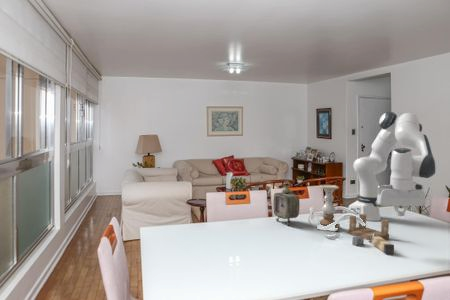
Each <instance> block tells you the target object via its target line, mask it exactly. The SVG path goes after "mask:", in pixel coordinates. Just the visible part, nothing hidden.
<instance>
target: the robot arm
mask: <svg viewBox="0 0 450 300" xmlns="http://www.w3.org/2000/svg"><path fill="white" fill-rule="evenodd" d="M378 126H379V127H380V128H381V130H380V131H379V132H378V133H377V135H376V138H375V139H374V141H373V142H372V144H371V153H370V155H368V156H363V157H362V156H361V157H359V158H357V159H355V160H354V162H353V164H352V165H353V170H354V172H355V173H356V174H357V176H358V180H359V194H358V195H356V196H355V198H356V201H354V202H352V203H350V204H349V205H348V207H347V210H348V209H351V210H353V211H354V212H355V213H356V214H357V215H358V216H359V215H360V214H365V215H366V222H367V221H369V222H377V221H382V217H381V214H380V207H393V209H394V210H395V215H396V216H398V217H405V216H406V214H405V212H407V210H408V207H424V206H425V204H426V194H425V191H424V190H425V185H423V184H422V183H421V184H420V183H419V182H418V183H417V182H415V181H414V177H418V178H424V179H429V178H431V177H433V176H434V175H435V174H436V172H437V163H436V161H435V158H434V155H433V152H432V147H431V146H430V141H429V139H428V137H427V135H426V134H424V133H423V125H422V124H421V123H420V122H419V118H418V116H417V114H415V113H413V112H404V113H403V114H398V113H395V112H393V111H386V112H384V113H383V114H382V115H381V116H380V117H379V121H378ZM397 142H398V143H399V144H400V145H402V146H405V147H410V148H414V149H417V150H419V151H420V154H421V155H413V151H412V149H410V148H405V147H403V148H402V147H400V148H399V147H398V148H394V147H395V146H396V144H397ZM393 148H394V149H393ZM390 153H392V154H391V158H389V155H390ZM388 158H389V160H388ZM387 160H388V163H387ZM387 167H388V171H390V173H391V175H390V177H389V178H390V180H389V181H390V182H389V184H381V185H380V184H379V182H378V180H377V177H376V174H380V173H382V172H384V171H385V170H386V169H387ZM400 207H401V208H402V209H401V210H399V209H400Z"/></svg>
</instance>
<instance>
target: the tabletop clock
mask: <svg viewBox="0 0 450 300" xmlns="http://www.w3.org/2000/svg"><path fill="white" fill-rule="evenodd" d="M285 183H288V184H289V186H288V185H285ZM282 186H283V187H284V188H283V189H282V191H281V192H274V195H273V213H274V215H275V216H276V217H277V218H276V219H275V221H276V222H279V221H280V220H279V219H283V220H287V223H286V226H290V223H291V219H297V217H298V216H299V214H300V197H299V196H298V195H296V193H293V192H292V191H291V190H290V188H291V183H290V181H288V180H284V181H283V182H282Z"/></svg>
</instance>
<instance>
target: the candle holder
mask: <svg viewBox="0 0 450 300" xmlns="http://www.w3.org/2000/svg"><path fill="white" fill-rule="evenodd" d="M319 188H320V189H323V191H324V192H325V195H324V197H323V198H324V200H325V202H324V204H323V205H322V207H321V211H322V213H323V214H322V217H323V218H322V219H321V220H319V222H320V224H321V225H323V226H327V225H329V224H331V223H333V222H335V221H336V220H335V219H334V218H335V215H334V214H335V213H336V207H335V205H334V204H333V199H335V197H334V195H333V193H334V191H335V190H338V189H339V188H340V187H339V186H338V185H335V184H319ZM339 227H341V226H340V223H338V224H336V225H335V228H339ZM339 229H340V228H339Z"/></svg>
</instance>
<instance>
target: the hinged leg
mask: <svg viewBox="0 0 450 300" xmlns="http://www.w3.org/2000/svg"><path fill="white" fill-rule="evenodd" d="M369 241H370V242H372V243H371V244H372V245H374V246H375V247H376V248H378V249H379V250H380V251H382V252H383V253H384V254H386V255H387V254H391V255H394V254H395V245H394V244H393V243H391V242H389V241H387V239H386V240H384V239H383V238H381V237H380V236H370V240H369ZM370 242H369V243H370Z"/></svg>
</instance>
